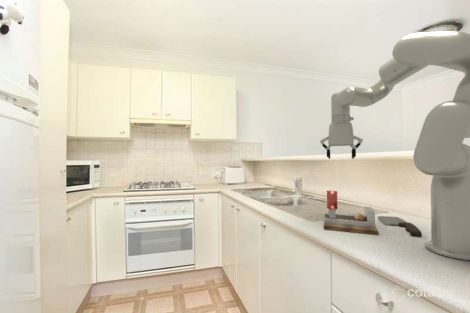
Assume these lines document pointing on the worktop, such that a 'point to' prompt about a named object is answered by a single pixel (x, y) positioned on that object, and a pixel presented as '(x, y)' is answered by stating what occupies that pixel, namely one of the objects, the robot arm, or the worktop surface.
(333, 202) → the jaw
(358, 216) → the walnut
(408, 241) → the worktop surface
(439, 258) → the worktop surface
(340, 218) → the press frame
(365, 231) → the press base
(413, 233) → the cleaver
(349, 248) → the worktop surface
